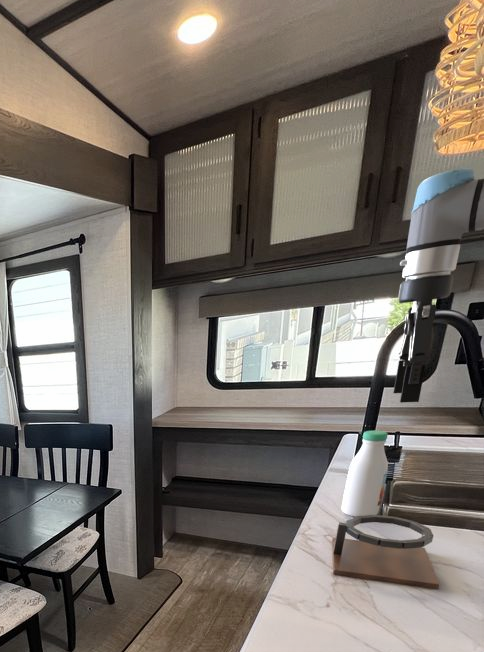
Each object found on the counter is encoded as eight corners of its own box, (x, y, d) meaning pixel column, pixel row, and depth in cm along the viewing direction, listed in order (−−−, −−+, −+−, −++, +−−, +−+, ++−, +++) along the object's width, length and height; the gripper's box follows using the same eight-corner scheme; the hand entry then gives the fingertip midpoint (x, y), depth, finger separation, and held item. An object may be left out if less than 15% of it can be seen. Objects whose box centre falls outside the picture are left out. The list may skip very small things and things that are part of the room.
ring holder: (423, 551, 95) (433, 517, 92) (438, 589, 83) (450, 551, 80) (331, 541, 103) (338, 509, 100) (333, 574, 90) (340, 538, 87)
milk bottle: (370, 520, 111) (388, 437, 103) (335, 513, 117) (349, 433, 109) (383, 511, 115) (402, 430, 107) (348, 504, 121) (364, 427, 113)
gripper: (394, 284, 96) (377, 390, 104) (409, 275, 77) (386, 407, 85) (442, 277, 92) (420, 388, 100) (469, 267, 73) (440, 405, 81)
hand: (405, 397), depth 92 cm, fingers open, 13 cm apart
